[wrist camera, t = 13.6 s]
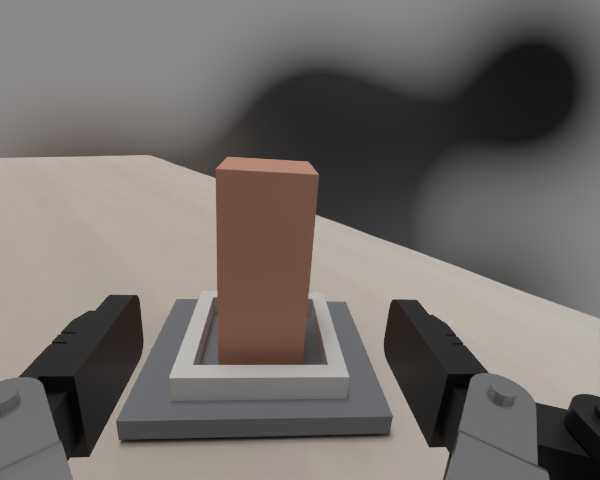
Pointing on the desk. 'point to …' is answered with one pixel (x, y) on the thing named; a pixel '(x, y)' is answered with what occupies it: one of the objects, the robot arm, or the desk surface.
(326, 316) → the baseplate
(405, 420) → the desk surface
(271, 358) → the column
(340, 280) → the desk surface
